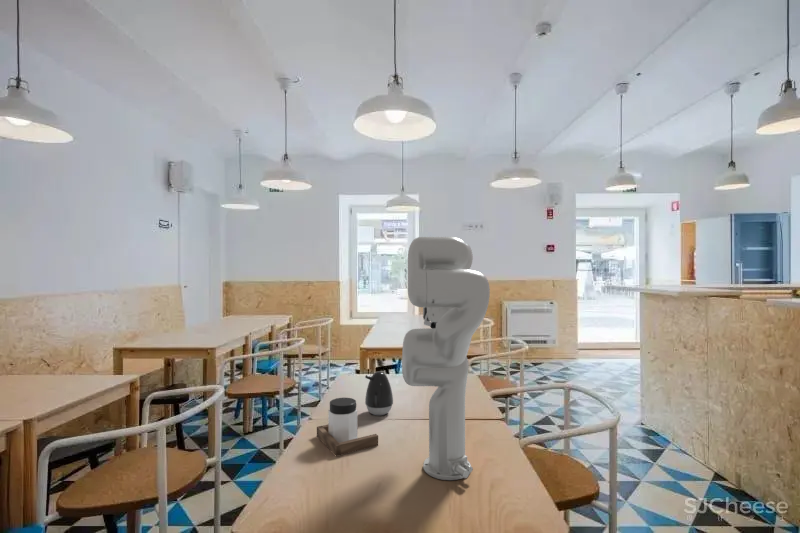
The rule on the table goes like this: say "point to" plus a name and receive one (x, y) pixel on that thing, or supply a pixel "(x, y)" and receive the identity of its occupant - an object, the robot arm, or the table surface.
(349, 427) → the jar
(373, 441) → the walnut bay
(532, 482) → the table surface
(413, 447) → the table surface
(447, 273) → the robot arm
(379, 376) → the pump dispenser
